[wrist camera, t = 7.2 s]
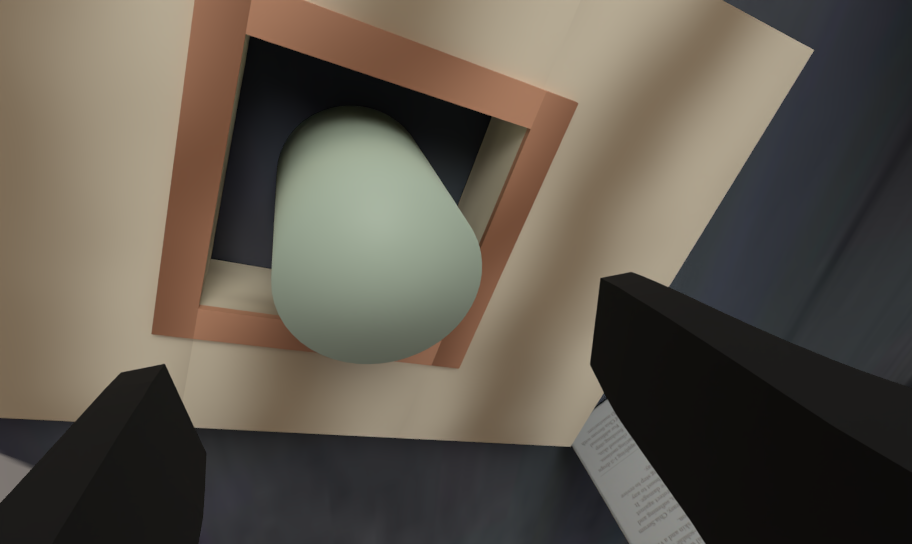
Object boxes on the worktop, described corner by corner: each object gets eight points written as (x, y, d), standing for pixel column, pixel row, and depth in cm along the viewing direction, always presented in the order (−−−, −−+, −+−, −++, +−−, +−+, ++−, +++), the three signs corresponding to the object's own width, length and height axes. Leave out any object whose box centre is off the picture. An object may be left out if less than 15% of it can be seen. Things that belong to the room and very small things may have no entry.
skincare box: (601, 463, 27) (777, 754, 17) (560, 429, 25) (739, 744, 15) (697, 392, 26) (942, 658, 16) (665, 350, 24) (928, 631, 14)
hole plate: (750, 37, 17) (820, 51, 15) (546, 403, 24) (572, 450, 21) (-198, -453, 8) (-376, -599, 6) (-101, 345, 15) (-169, 415, 13)
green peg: (416, 96, 15) (478, 168, 10) (429, 230, 18) (484, 340, 13) (259, 116, 14) (243, 204, 9) (295, 254, 17) (297, 382, 12)
